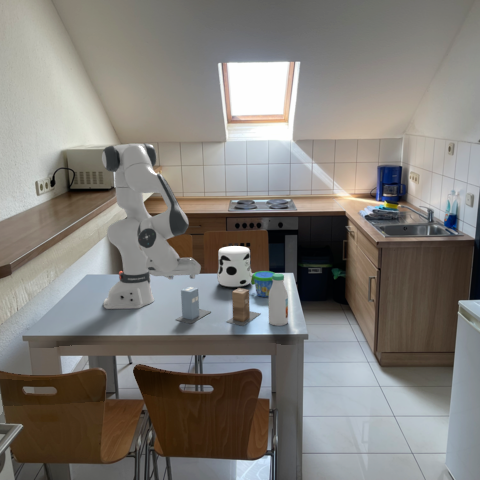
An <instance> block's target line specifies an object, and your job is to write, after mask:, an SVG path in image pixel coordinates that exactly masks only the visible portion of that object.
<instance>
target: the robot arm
mask: <svg viewBox="0 0 480 480" xmlns="http://www.w3.org/2000/svg"><path fill="white" fill-rule="evenodd" d="M157 155H158V154H157V151H156V149H155V147H154V146H153V145H152V144H149V143H127V144H118V145H109V146H106V147H105V148H104V149H103V151H102V155H101V161H102V165H103V166H104V169H105V170H106V171H107V172H111V173H114V185H115V193H116V195H115V198H116V204H117V206H118V207H119V208H121V209H123V210H124V211H125V214H126V218H123V219H120V220H116V221H114V222H113V223H111V224H109V226H108V227H107V230H106V231H107V232H106V233H107V234H106V235H107V239H108V241H109V242H110V243H111V244H112V245H113V246H115V247H116V248H117V249H118V251H119V253H120V255H121V256H120V257H121V260H122V270H123V271H122V270H120V271H119V272H118V277H119V280H118V282H116V283H115V284H114V285H113V286H111V287H110V289H109V291H108V293H107V297H106V298H105V299H104V301H103V308H104V309H107V310H112V309H113V310H117V309H118V310H119V309H120V310H121V309H123V310H124V309H141V308H142V307H144V306H147V305H149V304H150V305H151V304H152V303H153V302H154V301H155V298H154V296H153V292H152V287H151V276H153V277H164V278H167V279H169V280H174V277H175V276H189V278H190V279H191V280H192V279H195V278H196V276H197V275H199V274H200V273H201V268H202V266H201V264H200V263H199V262H198V261H197V260H195V259H194V258H193V257H180V256H179V254H178V253H177V251H176V250H175V248H173V247H172V246H171V245H170V244H169V242H168V241H167V240H168V239H171V238H174V237H178V236H181V235H183V234H185V233H186V231H187V229H188V228H189V225H190V224H189V218H188V216H187V215H186V213H185V212H184V211H183V209H182V207H181V205H180V204H179V202H178V200H177V198H176V196H175V194H174V192H173V190H172V188H171V186H170V184H169V183H168V181H167V180H166V178H165V177H164V176H163V174H161V173H156V172H155V170H154V167H155V165H156V163H157V158H158V157H157ZM149 193H150V194H155V193H156V194H160V195H161V197H162V199H163V202H164V203H165V205H166V207H167V209H166V210H165V211H163V212H161V213H159V214H157V215H153V216H152V215H150V213H149V212H148V211H147V208H146V205H145V203H144V197H143V194H149Z"/></svg>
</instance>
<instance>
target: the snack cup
mask: <svg viewBox="0 0 480 480" xmlns="http://www.w3.org/2000/svg"><path fill="white" fill-rule="evenodd" d="M273 274H276V273H275V272H273V271H270V270H261V271H256V272H254V273H252V278H251V283H250V285H251V286H254V285H255V293H256V296H258V297H262V298H269V292H270V289H271V287H272V284H273V280H272V275H273Z"/></svg>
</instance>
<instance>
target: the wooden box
mask: <svg viewBox="0 0 480 480" xmlns="http://www.w3.org/2000/svg"><path fill="white" fill-rule="evenodd" d="M231 296H232V298H231V299H232V300H231V301H232V303H231V304H232V318H233V320H237V321H241V322H244V321H246V320H247V319H249V318H250V311H251V309H250V289H246V288H242V287H239V288H237V289H236V288H235V289H234V290H233V291H232V292H231Z"/></svg>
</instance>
